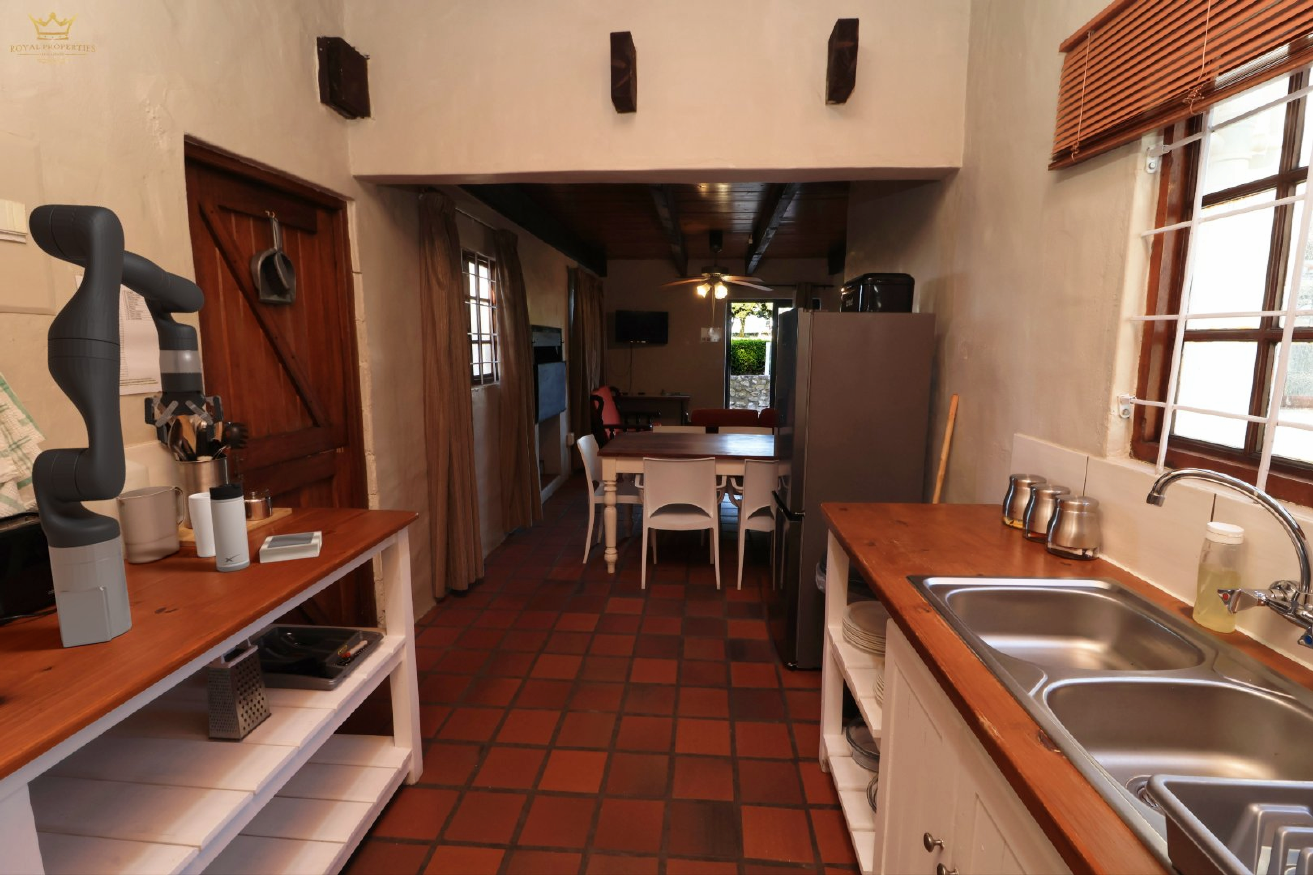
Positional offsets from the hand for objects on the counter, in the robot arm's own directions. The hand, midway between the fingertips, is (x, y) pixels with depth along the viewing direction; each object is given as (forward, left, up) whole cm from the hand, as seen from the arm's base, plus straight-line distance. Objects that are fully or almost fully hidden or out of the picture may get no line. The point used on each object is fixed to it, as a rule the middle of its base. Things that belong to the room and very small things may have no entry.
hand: (187, 441), depth 141 cm
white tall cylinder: (+6, -1, -29) cm, 30 cm away
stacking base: (0, -19, -29) cm, 35 cm away
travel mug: (-7, -8, -29) cm, 31 cm away
